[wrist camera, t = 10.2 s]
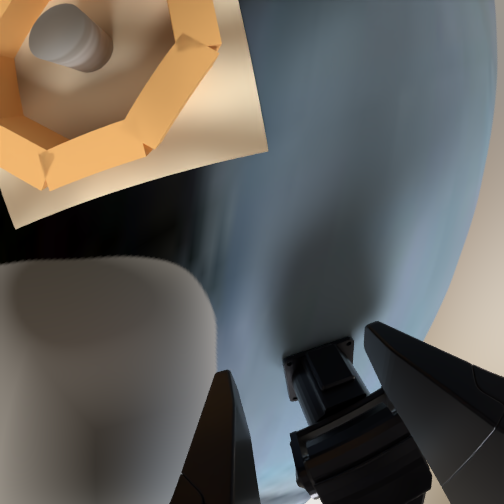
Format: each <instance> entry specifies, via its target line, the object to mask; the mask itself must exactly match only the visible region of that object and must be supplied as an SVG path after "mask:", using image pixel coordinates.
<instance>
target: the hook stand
mask: <svg viewBox="0 0 504 504" xmlns="http://www.w3.org/2000/svg"><path fill="white" fill-rule="evenodd" d="M213 4H214V9H215V13H216V18H217V23H218V27H219V32H220V37H221V41H222V44H221V46H220V48H219V50H218V53H219V55H218V57H217V59H216V60H215V62H214V64H213V66H212V67H211V68H210V70H209V71H208V73H207V74H206V75H205V77H204V78H203V79H202V81H201V82H200V84H199V85H198V87H197V88H196V89H195V91H194V92H193V94H192V95H191V97H190V98H189V100H188V101H187V103H186V104H185V106H184V107H183V109H182V110H181V112H180V113H179V115H178V117H177V118H176V120H175V121H174V123H173V124H172V126H171V128H170V129H169V131H168V132H167V134H166V136H165V137H164V139H163V141H162V142H161V143H160V145H159V146H158V147H157V148H156V149H155V150H154V149H153V150H152V151H151V152H150V153H149V154H148V155H147V156H146V157H144V158H140V159H137V160H134V161H131V162H128V163H125V164H122V165H119V166H116V167H113V168H110V169H107V170H104V171H101V172H98V173H96V174H93V175H90V176H88V177H85V178H82V179H80V180H77V181H74V182H72V183H69V184H67V185H64V186H62V187H59V188H57V189H54V190H52V191H49V188H48V187H47V188H45V189H43V190H42V191H41V190H39V189H37V188H35V187H33V186H32V185H30V184H28V183H26V182H25V181H23V180H21V179H19V178H18V177H16V176H14V175H12V174H11V173H9V172H7V171H6V170H4V169H2V168H0V188H1V191H2V194H3V197H4V200H5V203H6V206H7V208H8V211H9V214H10V216H11V219H12V222H13V224H14V227H15V229H17V228H20V227H22V226H24V225H27V224H29V223H31V222H34V221H36V220H39V219H41V218H44V217H46V216H49V215H51V214H54V213H56V212H59V211H62V210H64V209H67V208H70V207H72V206H75V205H78V204H80V203H83V202H86V201H89V200H92V199H95V198H97V197H100V196H103V195H106V194H109V193H112V192H115V191H118V190H121V189H125V188H128V187H131V186H134V185H137V184H141V183H144V182H147V181H151V180H154V179H157V178H161V177H164V176H168V175H171V174H175V173H179V172H182V171H186V170H190V169H194V168H197V167H201V166H205V165H209V164H213V163H218V162H222V161H226V160H230V159H235V158H239V157H244V156H248V155H253V154H257V153H262V152H267V151H268V146H267V141H266V135H265V130H264V124H263V119H262V113H261V108H260V103H259V98H258V93H257V88H256V82H255V77H254V72H253V68H252V63H251V58H250V53H249V48H248V43H247V39H246V34H245V29H244V25H243V20H242V16H241V11H240V7H239V2H238V0H213ZM174 44H175V40H174V35H173V30H172V25H171V20H170V14H169V9H168V4H167V0H51V1H49V2H48V4H47V5H46V7H45V8H44V10H43V11H42V13H41V14H40V16H39V17H38V19H37V20H36V22H35V23H34V25H33V27H32V28H31V30H30V32H29V33H28V35H27V37H26V38H25V40H24V42H23V44H22V45H21V47H20V49H19V51H18V53H17V54H16V56H15V58H14V60H15V68H16V75H17V82H18V88H19V94H20V99H21V104H22V109H23V114H24V116H25V117H27V118H29V119H31V120H33V121H35V122H37V123H39V124H41V125H43V126H45V127H47V128H48V129H50V130H52V131H54V132H56V133H58V134H60V135H62V136H64V137H66V138H68V139H69V140H72V139H74V138H76V137H79V136H81V135H84V134H86V133H89V132H91V131H94V130H97V129H99V128H102V127H105V126H108V125H110V124H113V123H116V122H119V121H122V120H125V118H126V116H127V114H128V113H129V111H130V109H131V108H132V106H133V104H134V103H135V101H136V99H137V98H138V96H139V95H140V93H141V91H142V90H143V88H144V87H145V85H146V84H147V82H148V80H149V79H150V77H151V76H152V74H153V73H154V72H155V70H156V69H157V67H158V66H159V64H160V63H161V61H162V60H163V59H164V57H165V56H166V54H167V53H168V52H169V50H170V49H171V48H172V46H173V45H174Z"/></svg>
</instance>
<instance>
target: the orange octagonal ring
mask: <svg viewBox="0 0 504 504" xmlns="http://www.w3.org/2000/svg"><path fill="white" fill-rule="evenodd" d="M49 1H51V0H0V168H2V169H4V170H6V171H7V172H9V173H11V174H12V175H14V176H16V177H18V178H19V179H21V180H23V181H25V182H26V183H28V184H30V185H32V186H33V187H35V188H37V189H39V190H41V191H42V190H43V189H45V188H47V187H48V188H49V191H52V190H54V189H57V188H59V187H62V186H64V185H67V184H69V183H72V182H74V181H77V180H80V179H82V178H85V177H88V176H90V175H93V174H96V173H98V172H101V171H104V170H107V169H110V168H113V167H116V166H119V165H122V164H125V163H128V162H131V161H134V160H137V159H140V158H144V157H146V156H147V155H148V154H149V153H150V152H151V151H152V150H153V149H154V150H155V149H156V148H157V147H158V146H159V145H160V143H161V142H162V141H163V139H164V137H165V136H166V134H167V132H168V131H169V129H170V128H171V126H172V124H173V123H174V121H175V120H176V118H177V117H178V115H179V113H180V112H181V110H182V109H183V107H184V106H185V104H186V103H187V101H188V100H189V98H190V97H191V95H192V94H193V92H194V91H195V89H196V88H197V87H198V85H199V84H200V82H201V81H202V79H203V78H204V77H205V75H206V74H207V73H208V71H209V70H210V68H211V67H212V66H213V64H214V62H215V60H216V59H217V57H218V55H219V53H218V50H219V48H220V46H221V44H222V41H221V37H220V32H219V27H218V23H217V18H216V13H215V9H214V4H213V0H167V4H168V9H169V14H170V20H171V25H172V30H173V35H174V40H175V44H174V45H173V46H172V48H171V49H170V50H169V52H168V53H167V54H166V56H165V57H164V59H163V60H162V61H161V63H160V64H159V66H158V67H157V69H156V70H155V72H154V73H153V74H152V76H151V77H150V79H149V80H148V82H147V84H146V85H145V87H144V88H143V90H142V91H141V93H140V95H139V96H138V98H137V99H136V101H135V103H134V104H133V106H132V108H131V109H130V111H129V113H128V114H127V116H126V118H125V120H122V121H119V122H116V123H113V124H110V125H108V126H105V127H102V128H99V129H97V130H94V131H91V132H89V133H86V134H84V135H81V136H79V137H76V138H74V139H72V140H69V139H68V138H66V137H64V136H62V135H60V134H58V133H56V132H54V131H52V130H50V129H48V128H47V127H45V126H43V125H41V124H39V123H37V122H35V121H33V120H31V119H29V118H27V117H25V116H24V114H23V109H22V104H21V99H20V94H19V88H18V82H17V75H16V68H15V60H14V58H15V56H16V54H17V53H18V51H19V49H20V47H21V45H22V44H23V42H24V40H25V38H26V37H27V35H28V33H29V32H30V30H31V28H32V27H33V25H34V23H35V22H36V20H37V19H38V17H39V16H40V14H41V13H42V11H43V10H44V8H45V7H46V5H47V4H48V2H49Z"/></svg>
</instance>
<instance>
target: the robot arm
mask: <svg viewBox="0 0 504 504" xmlns="http://www.w3.org/2000/svg"><path fill="white" fill-rule="evenodd" d="M364 348H365V351H366V353H367V355H368V357H369V360H370V362H371V364H372V366H373V368H374V370H375V372H376V374H377V376H378V379H379V381H380V383H381V385H382V386H381V388H380V389H378V390H377V391H375V392H373V393H372V394H370V393H369V391H368V389H367V388H366V386H365V384H364V383H363V381H362V380H361V378H360V376H359V375H358V373H357V371H356V370H355V368H354V366H353V350H354V340H353V339H352V337H346V338H343V339H340V340H337V341H335V342H332V343H329V344H326V345H323V346H320V347H317V348H314V349H311V350H308V351H305V352H302V353H299V354H296V355H292V356H289V357H286V358H285V359H284V360H283V366H284V372H285V377H286V383H287V389H288V394H289V398H290V401H297V400H298V401H299V403H300V406H301V408H302V411H303V413H304V415H305V418H306V420H307V423H308V425H309V426H308V427H306V428H304V429H301V430H299V431H294V432H292V433H290V438H291V442H290V446H291V449H292V453H293V458H294V462H295V467H296V482H297V484H298V486H299V487H302V488H304V489H306V491H307V492H308V493H309V495H310V496H311V497H312V498H313V499H318V498H320V500H321V502H322V503H323V504H423V503H424V498H425V494H426V492H427V491H428V490H430V489H431V483H432V474H431V472H430V468H429V466H430V467H431V469H432V471H433V473H434V474H435V476H436V478H437V480H438V481H439V483H440V485H441V486H442V489H443V490H444V492H445V494H446V496H447V498H448V499H449V501H450V503H451V504H504V377H502V376H499V375H497V374H494V373H492V372H489V371H487V370H484V369H482V368H480V367H478V366H476V365H472V364H470V363H468V362H467V361H464V360H462V359H460V358H458V357H456V356H453V355H451V354H449V353H447V352H445V351H442V350H440V349H438V348H436V347H434V346H431V345H429V344H427V343H425V342H423V341H421V340H418V339H416V338H414V337H412V336H410V335H407V334H405V333H403V332H401V331H399V330H397V329H394V328H392V327H390V326H388V325H386V324H384V323H381V322H379V321H376V322H373V323H370V324H368V325H366V326H365V333H364ZM288 362H289V363H288ZM427 462H428V463H427ZM428 464H429V466H428ZM169 504H260V497H259V491H258V484H257V478H256V471H255V464H254V457H253V450H252V443H251V437H250V433H249V429H248V425H247V422H246V418H245V415H244V411H243V407H242V404H241V400H240V396H239V392H238V389H237V386H236V384H235V381H234V379H233V376H232V374H231V372H230V370H224V371H220V372H217V373H216V374H215V375H214V378H213V382H212V385H211V387H210V390H209V393H208V396H207V399H206V402H205V405H204V408H203V411H202V413H201V416H200V419H199V422H198V425H197V428H196V431H195V434H194V437H193V440H192V443H191V446H190V448H189V452H188V454H187V458H186V460H185V463H184V466H183V469H182V474H181V475H180V477H179V480H178V483H177V486H176V488H175V491H174V494H173V496H172V499H171V502H170V503H169Z"/></svg>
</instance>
